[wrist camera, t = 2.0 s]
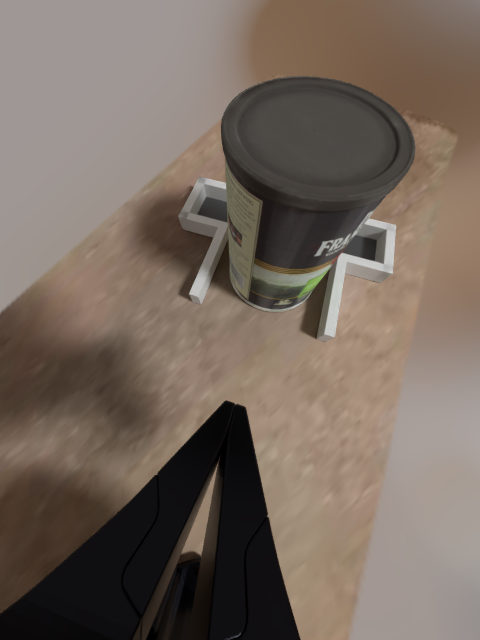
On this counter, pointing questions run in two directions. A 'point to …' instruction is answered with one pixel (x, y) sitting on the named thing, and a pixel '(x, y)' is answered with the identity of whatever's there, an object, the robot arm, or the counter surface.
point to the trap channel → (357, 260)
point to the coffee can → (304, 180)
